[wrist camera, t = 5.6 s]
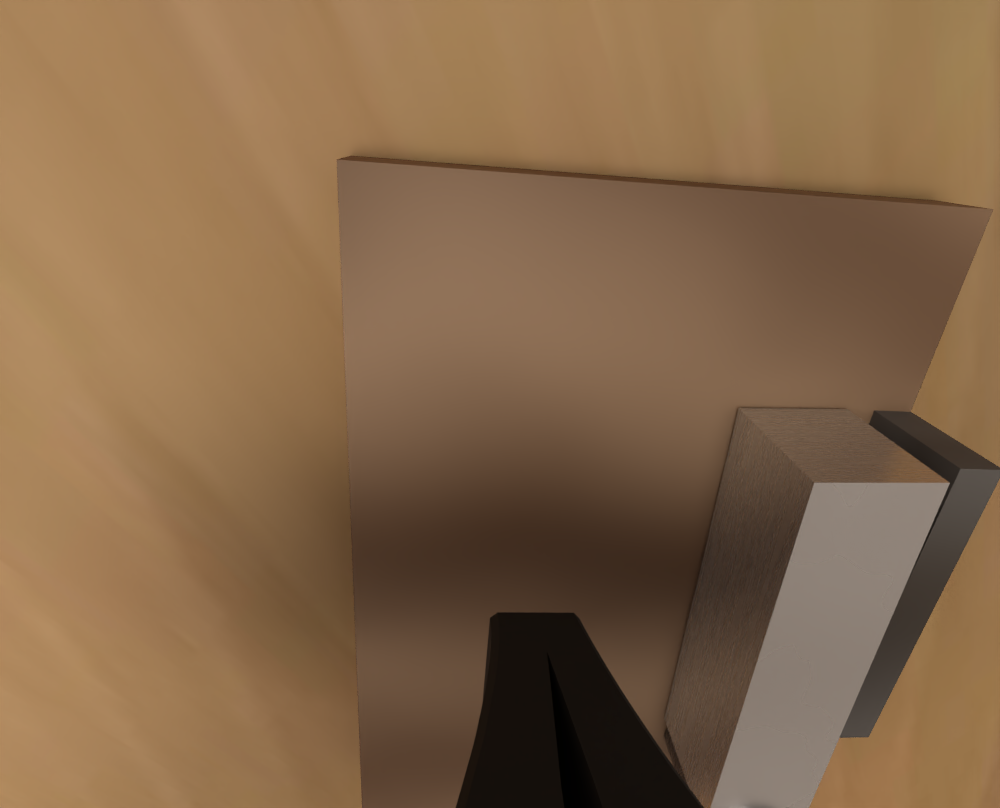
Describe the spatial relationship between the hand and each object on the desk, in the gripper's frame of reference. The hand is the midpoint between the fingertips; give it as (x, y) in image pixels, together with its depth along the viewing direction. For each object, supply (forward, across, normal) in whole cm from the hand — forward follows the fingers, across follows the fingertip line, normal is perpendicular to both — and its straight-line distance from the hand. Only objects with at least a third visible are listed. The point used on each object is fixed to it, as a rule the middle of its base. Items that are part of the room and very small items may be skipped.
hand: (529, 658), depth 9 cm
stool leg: (+2, -5, +1) cm, 5 cm away
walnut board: (+3, -2, 0) cm, 4 cm away
